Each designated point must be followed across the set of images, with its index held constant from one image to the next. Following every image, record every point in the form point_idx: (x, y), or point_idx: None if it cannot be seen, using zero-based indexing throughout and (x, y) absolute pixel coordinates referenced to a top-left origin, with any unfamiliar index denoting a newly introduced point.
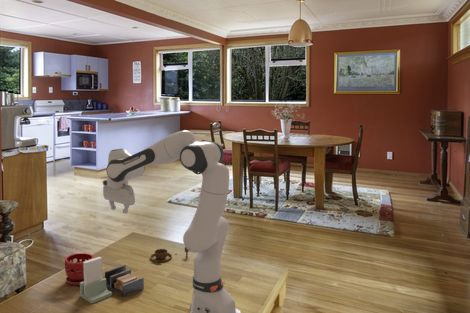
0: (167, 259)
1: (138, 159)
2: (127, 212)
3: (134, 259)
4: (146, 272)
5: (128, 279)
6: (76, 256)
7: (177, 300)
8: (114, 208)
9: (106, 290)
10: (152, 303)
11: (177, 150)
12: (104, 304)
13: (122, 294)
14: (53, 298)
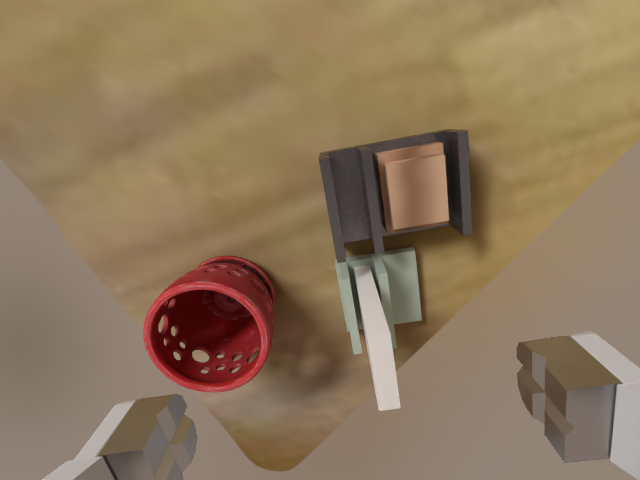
0: None
1: None
2: (592, 339)
3: (133, 7)
4: (316, 36)
5: (436, 194)
6: (153, 328)
7: (635, 65)
8: (177, 428)
9: (389, 260)
10: (571, 159)
11: None
12: (451, 287)
13: (449, 224)
14: (310, 382)
